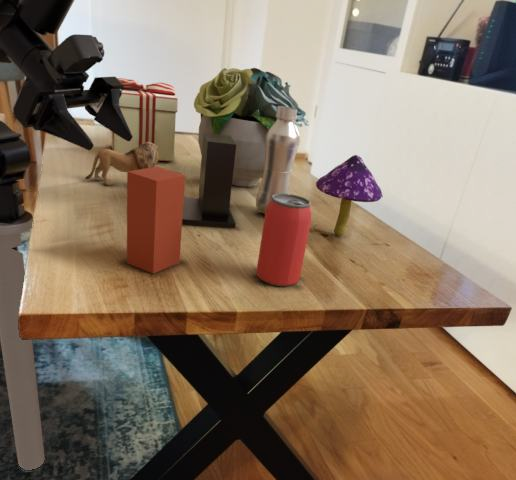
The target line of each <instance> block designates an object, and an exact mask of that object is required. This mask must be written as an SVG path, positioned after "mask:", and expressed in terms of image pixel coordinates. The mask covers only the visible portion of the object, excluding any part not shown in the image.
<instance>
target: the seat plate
mask: <svg viewBox="0 0 516 480" xmlns="http://www.w3.org/2000/svg"><path fill="white" fill-rule="evenodd" d="M235 154H236V143H235V142H234V140H233V139H232V138H231V136H229V135H220V134H212V133H203V145H202V155H201V159H200V173H199V183H198V184H199V185H198V196H197V197H192V196H191V197H190V196H184V201H183V216H182V226H197V227H210V228H211V227H212V228H222V229H223V228H225V229H236V227H237V223H236V221H235V219H234V216H233V214H232V211H231V209H230V208H231V207H230V206H231V199H232V198H231V197H232V189H233V185H232V180H233V171H234V162H235Z"/></svg>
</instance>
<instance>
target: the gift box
mask: <svg viewBox="0 0 516 480" xmlns="http://www.w3.org/2000/svg"><path fill="white" fill-rule="evenodd" d="M116 78H117V79H118V80H119V81H120V82H121V83H122V84H123V86H124V89H123V91H122V95H121V97H120V99H119V105H120V108H121V111H122V114H123V116H124V118H125V120H126V123H127V125H128V127H129V129H130V131H131V134H132V136H133V137H132V139H131V141H126V140H125V139H123V138H121V137H119V136H118V135H116V134H115V133H113V132H112V131H110V143H111V144H110V146H111V148H112V149H111V150H113V151H115V152H118V153H124V154H125V153H127V152H129V151H130V150H132V149H133V148H137V147H139V146H140V145H142V144H143V143H145V142H151V143H153V144H155V145H156V146H158V162H159V161H161V162H174V161H175V142H176V120H177V119H176V118H177V117H176V115H177V113H178V106H179V105H178V104H179V102H178V101H179V100H178V97H176V91H175V87H174V86H172V85H171V84H169V83H165V82H154V83H150V84H142V83H140V82H139V81H138V80H134V79H130V78H124V77H116Z"/></svg>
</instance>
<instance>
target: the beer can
mask: <svg viewBox="0 0 516 480" xmlns="http://www.w3.org/2000/svg"><path fill="white" fill-rule="evenodd" d="M311 205H312V202H311V201H310V200H309V199H307V198H305V197H304V196H301V195H296V194H293V193H289V194H274V195H273V196H272V197H271V201H270V203H269V204H268V206H267V209H266V212H265V214H264V220H263V226H262V231H261V239H260V245H259V253H258V258H257V259H258V260H257V265H256V271H255V273H256V275H257V277H258V278H259V279H260V281H262V282H264V283H266V284H269V285H271V286H275V287H276V286H277V287H291V286H294V285H295V284H297V283H298V282H299V281H300V278H301V274H302V268H303V263H304V260H305V254H306V248H307V244H308V238H309V234H310V229H311V224H312V210H311Z"/></svg>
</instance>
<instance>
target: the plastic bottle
mask: <svg viewBox="0 0 516 480" xmlns="http://www.w3.org/2000/svg"><path fill="white" fill-rule="evenodd" d="M296 115H297V109H295V108H291V107H285V106H278V107H277V114H276V117H277V120H276V122H275V123H274V124H273V125H272V126H271V127H270V129H269V130H268V132H267V134H266V140H265V141H266V142H265V163H264V164H265V166H264V172H263V176H262V178H261V181H260V185H259V189H258V191H257V193H256V198H255V206H256V209H257V212H259V213H262V214H264V215H265V212H266V209H267V206H268V204H269V203H270V201H271V197H272V196H273V195H274V194H290V186H291V176H292V172H293V171H292V170H293V167H294V162H295V159H296V156H297V153H298V150H299V147H300V143H301V136H300V133H299V130H298V127H297V125H295V124H294V121H295V120H296V119H297V117H296Z"/></svg>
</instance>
